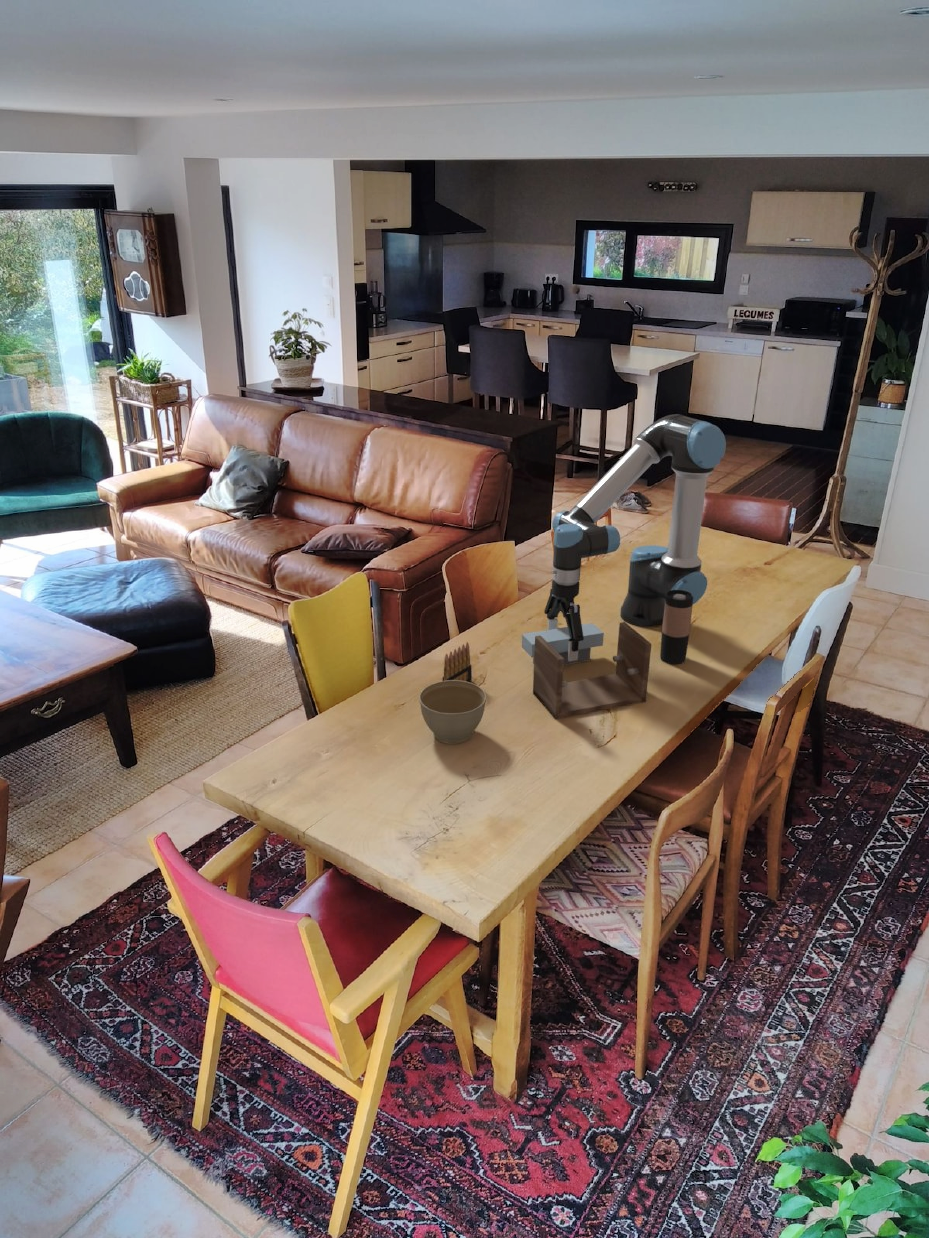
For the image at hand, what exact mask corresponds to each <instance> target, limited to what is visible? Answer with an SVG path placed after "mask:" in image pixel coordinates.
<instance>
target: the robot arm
mask: <svg viewBox="0 0 929 1238" xmlns="http://www.w3.org/2000/svg"><path fill="white" fill-rule="evenodd" d="M726 443H727V441H726V437H725V435H724V433H723V431H722V430H721V429H720V428H719V427H718V426H717V425H715V424H712V423H711V422H708V421H705V420H701V419H697V418H692V417H689V416H686V415H682V414H679V413H678V414H677V413H676V414H669V415H666V416H664V417H661V418H659V419H658V420H656V421H654V422H653V423H651V424H650V425H648V426H647V427H646V428H645V429H643V431H642V432H640V433H639V434H638V435H637V436H636V437H635V438H634V440H633V446H631V447H630V448H629V449H628V450H627V451H626V452H625V454H623V456H622V457H621V458H620V459H619V460H617V462H616V463H615V464H614V465H612V467H611V468H610V469H609V470H608V471H607V472H606V473H605V474H604V475H603V476H602V478H601V479H599V481H597V483H595V484H594V485H593V487H591V489H589V491H588V492H587V493H586V494H584V496H583V497H582V498H581V499H580V500H579V501H578V502H577V503H576V504H575V505H574V507H572V508H571V509H570V510H561V511H558V512H557V513H556V514H555V515H554V517H553V519H552V525H551V527H552V529H553V533H554V537H553V541H552V543H553V553H552V554H553V557H552V571H551V574H552V580H551V588H550V590H549V597H548V600H547V602H546V605H545V608H544V614H545V615H546V618H547V630H551V629H557V628H558V621H559V620H558V618H559V614H560V613H561V614H562V617H563V618H565V622H566V627H568V631H569V634H570V638H571V639H569V646H568V661H575V660H578V646H579V641H583V640H584V637H583V631H582V624H583V623H582V619H581V618H582V617H581V610H580V609H581V606H580V604H576V603H575V600H574V599H575V598H576V597H577V596H579V593H580V580H581V569H582V566H581V565H582V559H586V558H589V557H590V558H591V557H596V556H601V555H607V554H609V553H614V552H616V551H617V550H618V549H619V548H620V545H621V535H620V532H619V530H618V528H616V526H614V525H611V524H610V525H603V526H599V525H597V524H595V523H596V522H597V521H598V520H599V519H600V518H601V517H602V516H603V515H604V514H605V513H606V512H607V511H608V510H609V509H610V508H611V507H612V506H613V505H614V504H615V503H616V502H617V501H618V500H619V499H620V498H621V497H622V496H623V494H624V493H626V491H628V489H629V488H630V487H631V486H632V485H633V484H634V483H635V482H636V481H637V480H638V479H639V478H640V477H641V476H642V475H643V474H644V473H645V472H646V471H647V470H648V469H649V468H650V467H651V465H652V464H658V463H659V462H661V460H662V459H664V458H665V457H669V456H670V457H671V459H672V460H671V466H670V467H671V470H673V472H674V473H675V482H674V490H673V498H672V499H673V500H672V507H671V517H670V526H669V533H668V534H669V535H668V543H667V544H668V545H667V547H666V546H663V545H656V544H655V545H643V546H642V545H641V546H637V547H636V548H634V549H633V550H632V551H631V554H630V555H631V556H630V560H629V572H628V573H629V574H628V589H627V593H626V596H625V598H624V600H623V603H622V605H621V606H620V607H621V608H620V618H621V619H622V620H623V622H625V623H627V624H631V625H633V626H639V627H647V628H648V627H659V626H663V618H664V609H665V600H666V593H667V592H668V591H671V590H684V591H687V592H690V593H691V594H692V596H693V597H694V598H693V605H695V604H697V602H699V601H700V600H701V598H702V597H703V596H704V595H705V593H706V590H707V589H708V578H707V576H706V575H705V573H703V572H702V570H701V569H702V563H703V562H702V561H703V560H702V559H701V558H700V557H699V556H698V551H699V542H700V538H701V537H700V536H701V529H702V527H701V526H702V519H703V514H704V513H703V512H704V504H705V497H706V489H707V483H708V482H707V481H708V476H709V475H711V474H713V472H714V470H715V467H717V466H718V465H719V464H720V463H721V459H723V458H724V455H725V454H726V448H727V445H726Z"/></svg>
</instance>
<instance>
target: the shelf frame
mask: <svg viewBox="0 0 929 1238" xmlns="http://www.w3.org/2000/svg"><path fill="white" fill-rule="evenodd" d="M617 639H618V640H617V649H616V651H617V652H616V655H613V656H612V660H613V662H614V663H615V662H616V663H615V673H614V674H613V673H612V674H607V675H601V676H596V677H595V676H594V677H590V678H585V679H584V678H583V679H579V680H575V681H568V682H567V680H564V666H565V665H564V658H563V657H562V656H561V655H560V654H559V653H558V652H557V651H556V650H555V649H554V648H553V647H552V646H551V645H550V644H549V643H547V642H546V641H545V640H544V639H543V638H542V637H541V636H535V652H534V664H533V681H532V683H533V684H532V694H533V695H534V696H535V698H536V699H537V700H538V701H539V703H541V705H542V706H543V707H544V708H545V710H546V711H548V712H549V714H550V715H551V716H552V717H553V718H554V720H558V719H563V718H568V717H574V716H577V715H578V716H579V715H583V714H589V713H595V712H599V711H605V710H609V709H615V708H620V707H624V706H630V705H635V704H640V703H641V704H642V703H646V702H647V695H648V692H647V691H648V682H649V672H650V662H651V652H652V643H651V642H650V641H649V640H647V638H645V637H644V636H643V635H641V634H640V633H639V632H638V631H636V630H635V629H634V628H632V627H631V626H630V625H629V623H628V622H626V621H621V622H619V627H618V638H617Z"/></svg>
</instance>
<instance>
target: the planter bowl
mask: <svg viewBox="0 0 929 1238" xmlns="http://www.w3.org/2000/svg"><path fill="white" fill-rule="evenodd" d="M418 696H419V697H418V698H419V699H418V700H419V704H420V712H421V715H422V717H423V720H424V722H425V724H426V726H427V727H428V728H429V730H430V731H431V733H433V736H434V737H435V739H436V740H438V741H439V742H441V743H444V744H449V745H452V744H453V745H457V744H462V743H464V742H466V741H469V739H471V737H472V736H473V733H474V731H475V730H476V729H477V728H478V726H479V725H480V723H481V721H482V719H483V715H484V712H485V706H486V705H485V704H486V701H487V694H486V693H485V690H484V689H483V688H481V687H480V686H479V685H476V684H475V683H473V682H466V681H460V680H446V681H442V680H441V681H437V682H434V683H432V684H429V685H427V686H426V687H424V688H423V689H422V690H421V691H420V693H419V695H418Z"/></svg>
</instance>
